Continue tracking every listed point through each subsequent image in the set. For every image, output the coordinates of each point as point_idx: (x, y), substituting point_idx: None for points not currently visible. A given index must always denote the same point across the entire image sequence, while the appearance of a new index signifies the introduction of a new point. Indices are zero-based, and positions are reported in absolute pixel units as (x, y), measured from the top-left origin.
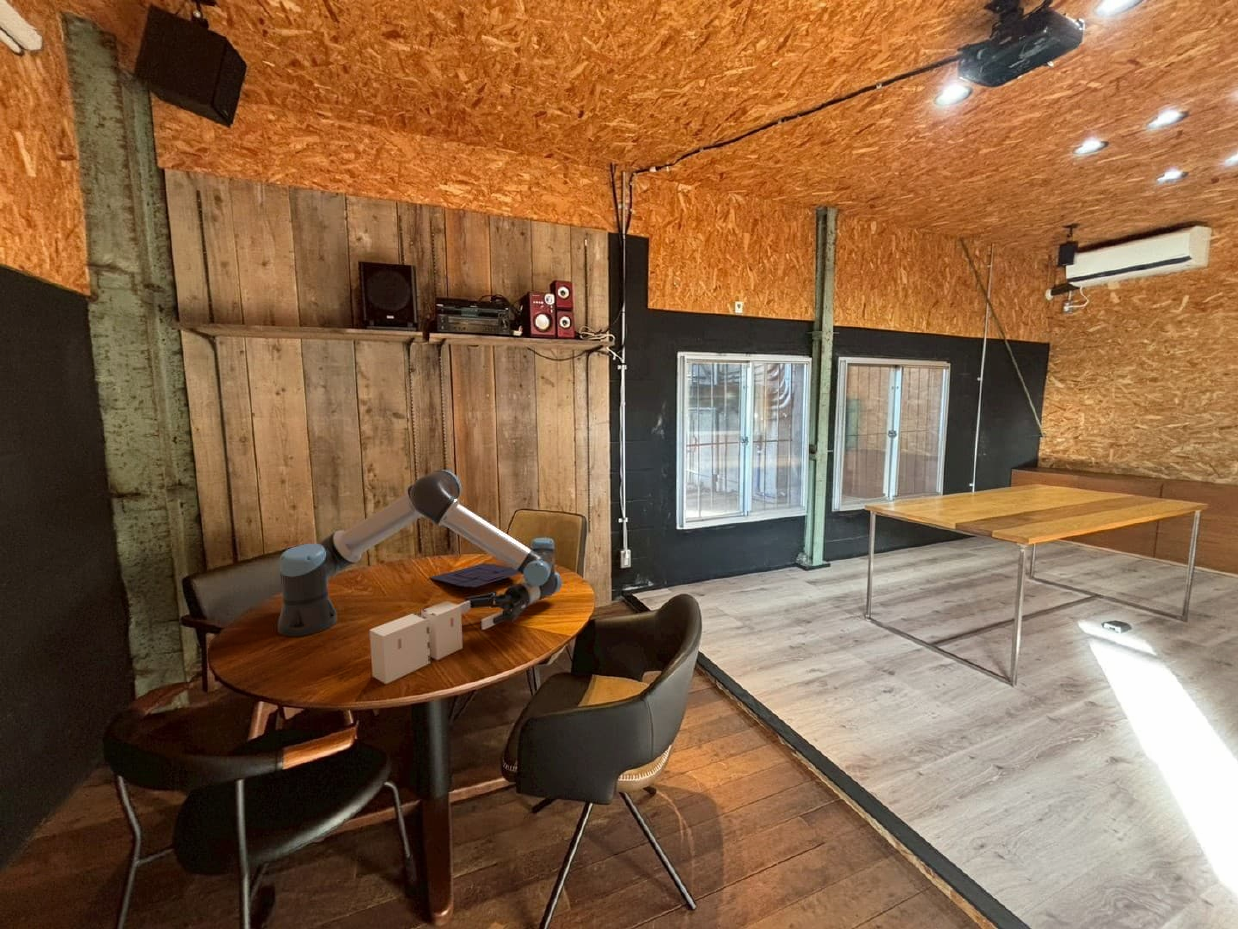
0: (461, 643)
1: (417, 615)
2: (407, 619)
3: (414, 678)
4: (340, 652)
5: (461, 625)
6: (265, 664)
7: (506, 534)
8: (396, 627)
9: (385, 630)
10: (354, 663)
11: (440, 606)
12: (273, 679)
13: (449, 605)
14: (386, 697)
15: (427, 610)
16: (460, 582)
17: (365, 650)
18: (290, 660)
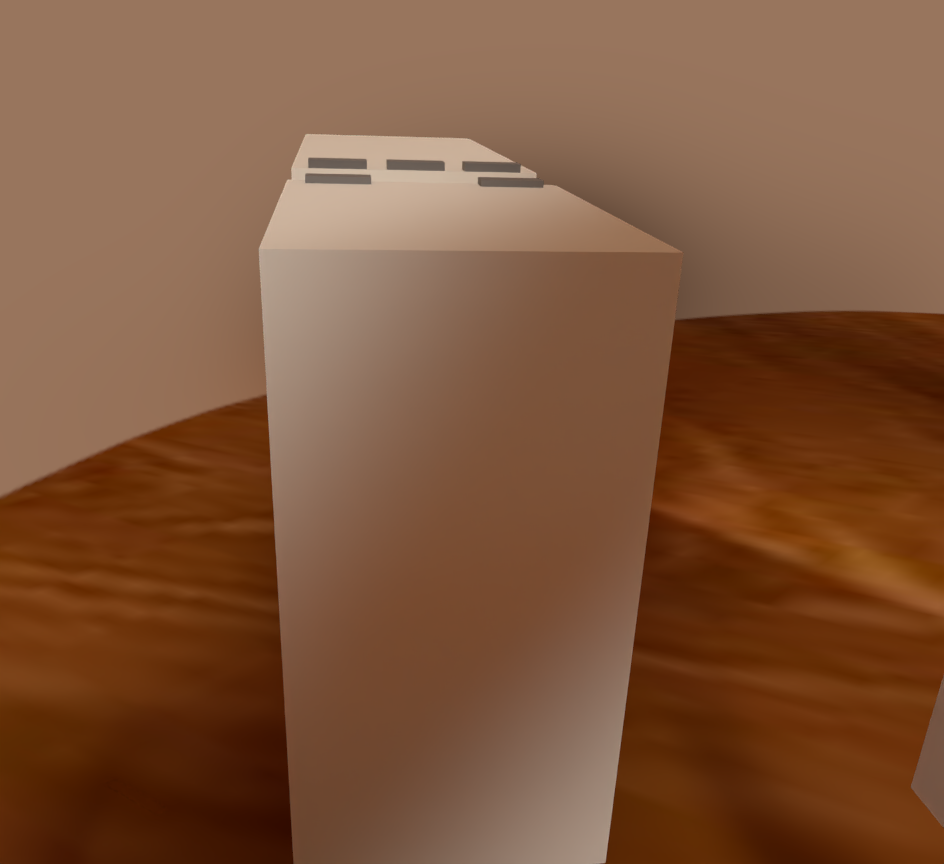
0: (293, 825)
1: (449, 168)
2: (433, 157)
3: (223, 499)
4: (876, 437)
5: (278, 596)
6: (883, 343)
7: None
8: (358, 144)
9: (375, 139)
10: (682, 435)
11: (509, 212)
12: (722, 336)
13: (445, 230)
14: (198, 415)
15: (503, 187)
16: None
17: (838, 484)
18: (881, 368)
